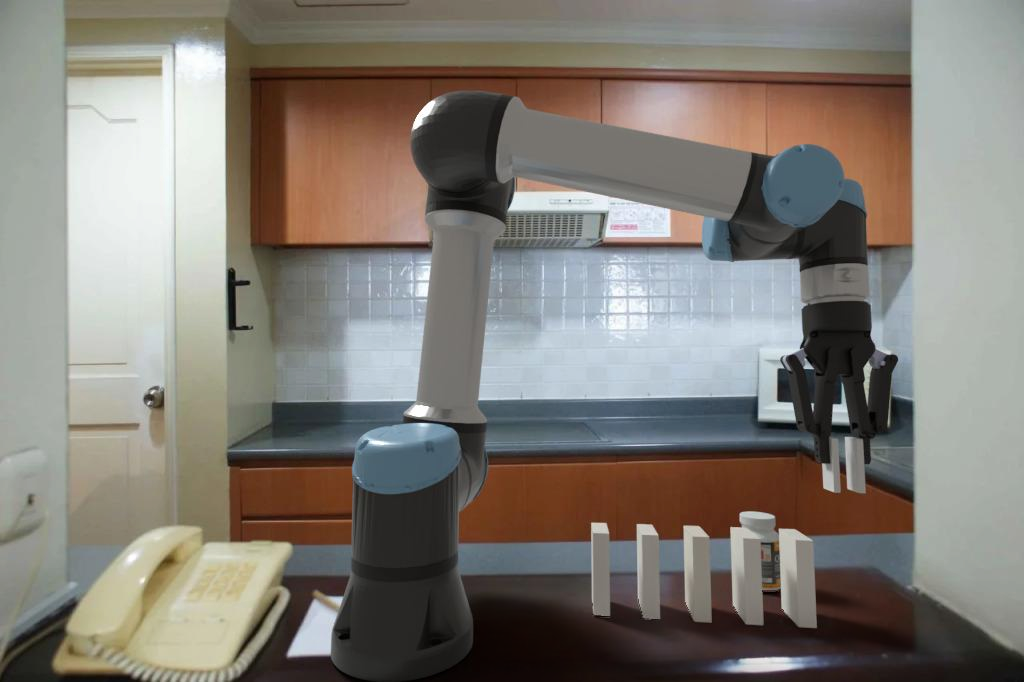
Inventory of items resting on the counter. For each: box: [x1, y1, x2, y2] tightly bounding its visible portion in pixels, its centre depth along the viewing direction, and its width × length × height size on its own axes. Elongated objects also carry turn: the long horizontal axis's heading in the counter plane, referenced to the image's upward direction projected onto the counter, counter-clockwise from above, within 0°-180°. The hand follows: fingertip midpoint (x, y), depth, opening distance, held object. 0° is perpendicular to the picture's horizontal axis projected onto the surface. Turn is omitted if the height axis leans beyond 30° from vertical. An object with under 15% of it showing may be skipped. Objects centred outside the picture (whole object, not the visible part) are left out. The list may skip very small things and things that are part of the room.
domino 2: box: [636, 523, 661, 620], centre depth 66 cm, size 2×5×10 cm, turn 174°
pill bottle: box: [739, 510, 781, 590], centre depth 74 cm, size 6×6×10 cm
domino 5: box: [778, 528, 818, 629], centre depth 64 cm, size 2×5×10 cm, turn 174°
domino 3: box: [683, 525, 713, 624], centre depth 65 cm, size 2×5×10 cm, turn 174°
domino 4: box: [730, 526, 765, 626], centre depth 65 cm, size 2×5×10 cm, turn 174°
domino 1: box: [590, 522, 611, 617], centre depth 67 cm, size 2×5×10 cm, turn 174°
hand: (844, 490), depth 64 cm, fingers open, 2 cm apart
